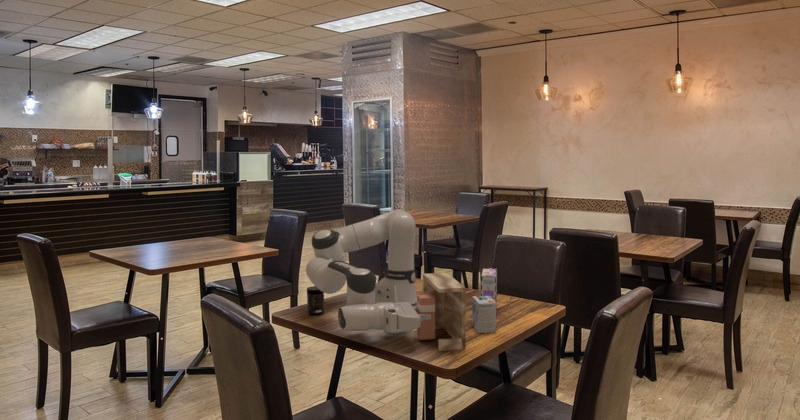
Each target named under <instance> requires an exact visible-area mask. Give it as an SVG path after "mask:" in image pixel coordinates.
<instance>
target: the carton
mask: <svg viewBox="0 0 800 420" xmlns="http://www.w3.org/2000/svg"><path fill="white" fill-rule="evenodd" d="M416 307H417V313H418V314H425V313H430V314H431V319H430V320H424V321H421V327H420V328H418V329H416V330H417V331H416V333H417V334H416V335H417V337H418V339H419V340H420V341H422V340H423V341H424V340H435V339H436V329H435V297H434V296H433V295H432V294H424V295H423V294H417V303H416Z"/></svg>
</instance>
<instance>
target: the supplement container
mask: <svg viewBox="0 0 800 420" xmlns="http://www.w3.org/2000/svg"><path fill="white" fill-rule="evenodd" d="M306 303H307V311H306V312H307V315H309V314H310V315H309V316H311V315H319V316H321V315H320V314H322V315H324V314H325V293H323V292H322V291H320V290H319V289H318V288H317V287H316V286H315V285H313V286H309V287H308V286H307V288H306ZM323 313H324V314H323Z"/></svg>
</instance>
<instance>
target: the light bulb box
mask: <svg viewBox="0 0 800 420" xmlns="http://www.w3.org/2000/svg"><path fill="white" fill-rule="evenodd" d="M471 299H472V300H471V301H472V302H471V303H472V304H471V305H472V306H471V312H472V313H471V319H472V320H471V325H472V327H474V329H475V331H476V333H477V334H489V333H490V334H493V333H497V309H496V302H495V301H494V300H493V299H492V298H491V297H490V296H481V295H474V296H472V297H471Z"/></svg>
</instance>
